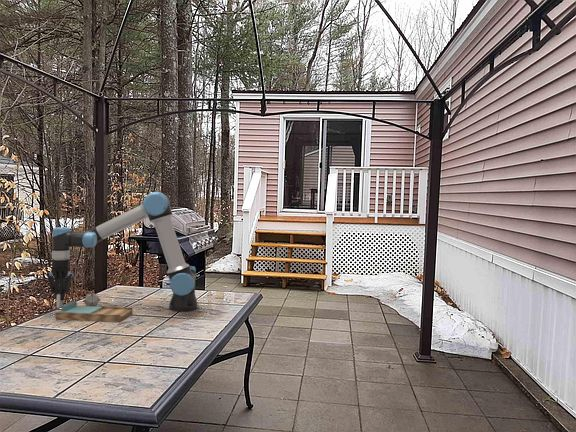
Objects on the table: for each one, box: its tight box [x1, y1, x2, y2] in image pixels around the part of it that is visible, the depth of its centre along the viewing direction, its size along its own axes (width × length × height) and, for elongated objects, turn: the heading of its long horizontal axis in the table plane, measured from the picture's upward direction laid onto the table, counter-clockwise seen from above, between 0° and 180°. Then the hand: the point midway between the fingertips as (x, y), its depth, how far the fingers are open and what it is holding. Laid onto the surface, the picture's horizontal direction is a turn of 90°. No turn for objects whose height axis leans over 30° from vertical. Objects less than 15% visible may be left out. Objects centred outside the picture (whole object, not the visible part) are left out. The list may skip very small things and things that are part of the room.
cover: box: [60, 300, 103, 314], centre depth 203 cm, size 14×13×3 cm
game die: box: [82, 291, 101, 306], centre depth 220 cm, size 9×8×10 cm
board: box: [55, 305, 133, 323], centre depth 203 cm, size 30×15×3 cm, turn 89°
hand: (59, 306), depth 203 cm, fingers closed
